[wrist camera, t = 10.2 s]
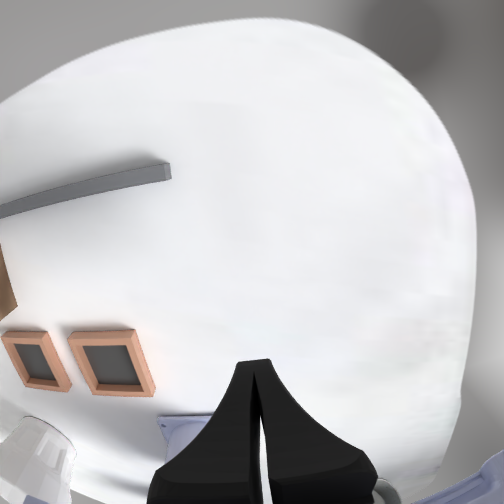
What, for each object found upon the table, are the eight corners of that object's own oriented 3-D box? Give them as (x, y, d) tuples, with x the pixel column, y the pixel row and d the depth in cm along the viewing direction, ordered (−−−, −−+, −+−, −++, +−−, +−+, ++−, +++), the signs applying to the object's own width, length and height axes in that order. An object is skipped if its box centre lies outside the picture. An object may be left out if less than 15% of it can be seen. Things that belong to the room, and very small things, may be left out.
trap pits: (155, 387, 24) (152, 397, 22) (30, 380, 23) (25, 386, 22) (135, 329, 22) (130, 338, 21) (6, 331, 22) (0, 337, 21)
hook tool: (196, 319, 22) (192, 338, 19) (-30, 325, 21) (-43, 336, 19) (169, 163, 18) (159, 164, 16) (-60, 228, 18) (-75, 234, 16)
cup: (28, 392, 24) (-16, 459, 14) (108, 459, 27) (86, 530, 17) (0, 416, 26) (-34, 467, 15) (65, 471, 29) (43, 526, 19)
